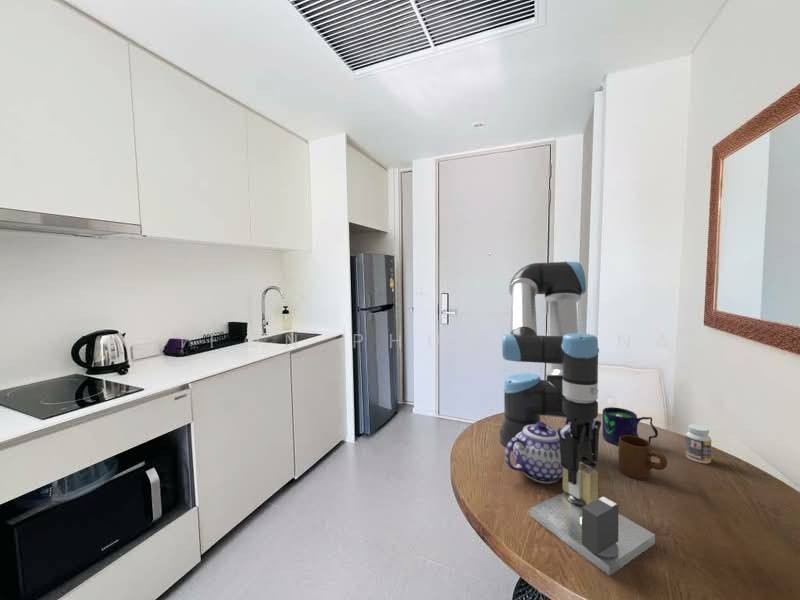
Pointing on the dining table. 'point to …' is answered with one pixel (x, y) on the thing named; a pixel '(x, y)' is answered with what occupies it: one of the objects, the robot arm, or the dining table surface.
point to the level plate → (568, 527)
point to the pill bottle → (698, 444)
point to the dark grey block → (600, 527)
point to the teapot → (536, 453)
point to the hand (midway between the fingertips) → (579, 492)
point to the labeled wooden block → (583, 485)
